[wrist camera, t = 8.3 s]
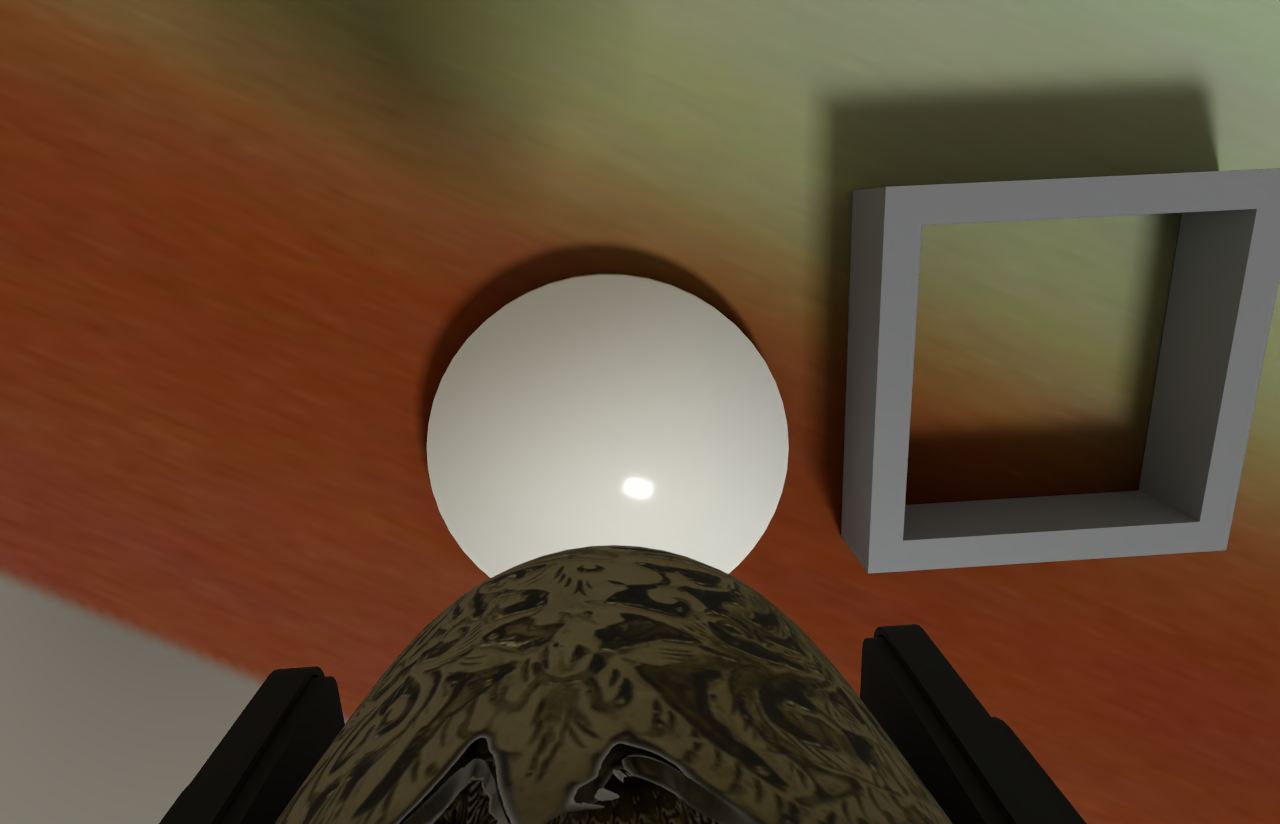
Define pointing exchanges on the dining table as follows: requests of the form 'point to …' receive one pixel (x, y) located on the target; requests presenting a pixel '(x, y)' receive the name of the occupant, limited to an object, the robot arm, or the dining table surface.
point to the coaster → (607, 427)
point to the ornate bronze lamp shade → (612, 711)
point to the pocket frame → (1183, 395)
